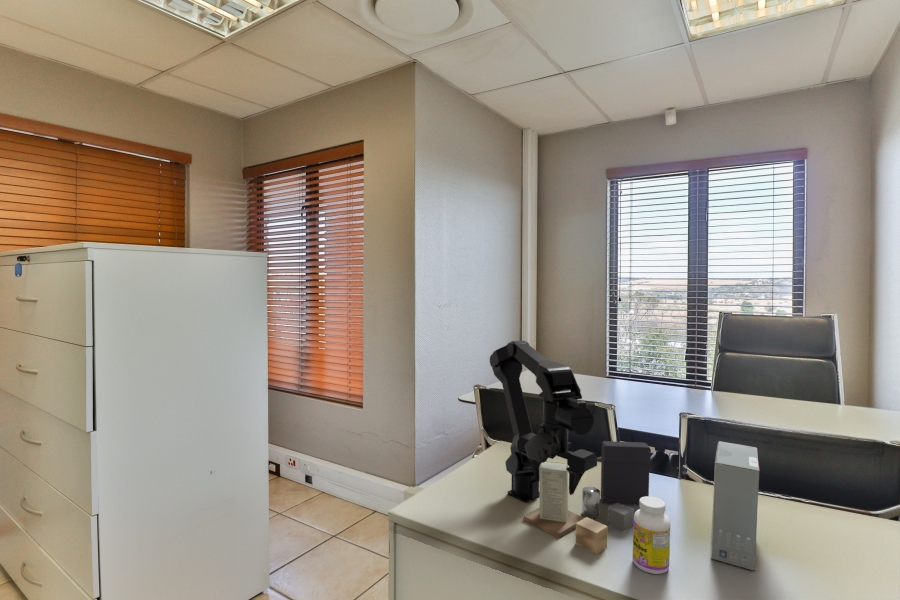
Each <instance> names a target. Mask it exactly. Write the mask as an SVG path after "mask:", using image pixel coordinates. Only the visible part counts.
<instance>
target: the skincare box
mask: <svg viewBox="0 0 900 600" xmlns="http://www.w3.org/2000/svg"><path fill="white" fill-rule="evenodd" d="M568 467H569V466H568V464H567V463H565V462H555V461H554V462H553V461H545V462H544V463H541V464H540V467H539V492H540V496H539V507H540V518H541V519H547V520H553V521H559V522H567V517H568V511H569V472H568V471H567V469H566V468H568Z"/></svg>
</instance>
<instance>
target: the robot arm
mask: <svg viewBox="0 0 900 600" xmlns="http://www.w3.org/2000/svg"><path fill="white" fill-rule="evenodd" d="M489 365H490V366H491V368H492V372H493V376H494V377H496V378H497V379H498V381H499V382H500V383H501V385H502V389H503V394H504V398H505V402H506V406H507V407H506V408H507V411H508V416H509V419H510V425H511V429H512V432H513V438H512V442H511V445H510V453H511V454H510V455H509V457H508V458H507V459H506V460H505V469H506V471H507V472H508V473H510V475H511V489H510V490H507V495H509V496H512V497H513V498H516V499H517V500H520V501H522V502H524V503H528V502H530V501H532V500H534V499H536V498H539V497H540V487H539V467H540V464H541V463H544V462H545V461H547V460H548V459H550V460H553V459H555V458H556V457H560V458H562V459H565V460H566V464H568V468H566V469H567V471H568V495H570V496H572V495H574V494H575V492H576V490H577V488H578V485H579V483H580V481H581V480H582V477H583V475H584V474H585V473H586V472H587V471H589V470H591V469H593V468H596V467H597V466H598V458H597V455H596V453H594V452H591V451H588V450H586V449H583V448H581V449H578V450H575V451H571V450H569V448H572V442H570V441H569V431H571V432H573V433H574V434H575V435H576V434H577V436H578V435H579V436H584V435H586V434H588V433H589V432H591V430H592V428H593V426H594V424H595V423H594V422H595V417H594V414H593V413H592V410H590V409H589V408H587V403H586V401H583V400H582V399H583V396H582V394H581V392H582V391H581V389H580V387H579V385H578V381H577V380H576V377H575V374H574V373H573V370H572V368H570V366H567V365H565V364H563V363H560V362H557V361H556V362H554V361H551V360H549V359H547V357H545V356H544V355H543V354H542V353H540V352H539V351H537V350H536V349H535V348H534V347H532V346H531V345H530V343H529V342H528V341H526V340H511V341H510V342H508V343H507V344H506V345H504V346H501V347H500V348H497V349H495V350H494V351H493V352H492V354H491V355H490V356H489ZM523 366H524V367H525V368H526V369H527V370H528V371H529V372H531V373H532V374H533V375H534V377H535V383H536V384H537V386H538V387H539V388H540V389H541V392H540V393H539V394H538V397H539V398H541V399H542V423H541V424H539V425H538V428H537V429H538V432H537V434H536V433H534V432H533V429H532V426H531V425H532V424H531V422H530V417H529V413H528V409H527V408H528V407H527V405H526V400H525V396H524V393H523V389H522V384H521V381H520V377H521V375H522V372H523V371H522V370H523ZM547 462H548V461H547Z"/></svg>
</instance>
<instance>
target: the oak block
mask: <svg viewBox="0 0 900 600" xmlns="http://www.w3.org/2000/svg"><path fill="white" fill-rule="evenodd" d="M575 545H578V546H580V547H581V548H583V549H586V550H588V551H589V552H592V553H594V554H595V555H597V554H599V553H601V552H602V551H604V549H606V548H607V547H608V525H606V524H603V523H601V522H600V521H596V520H595V519H590V518H588V517H586V518H585V517H584V519H582V520H581V521H579V522H577V523H576V528H575Z"/></svg>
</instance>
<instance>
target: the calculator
mask: <svg viewBox="0 0 900 600" xmlns="http://www.w3.org/2000/svg"><path fill="white" fill-rule="evenodd" d="M651 454H652V452H651V447H650V446H649V445H648V444H647V443H646V442H635V441H612V440H611V441H608V440H603V441H601V457H600V459H601V466H600V470H601V471H600V500H601V501H602V502H603V504H605V505H614V504H616V503H619V504H622V505H624V506H639V500H640V498H641V497H645V496H649V495H650V492H649V491H650V464H651Z"/></svg>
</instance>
